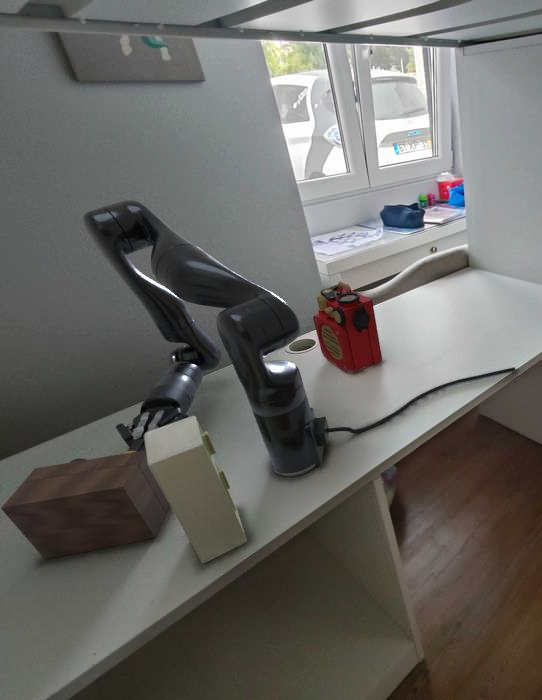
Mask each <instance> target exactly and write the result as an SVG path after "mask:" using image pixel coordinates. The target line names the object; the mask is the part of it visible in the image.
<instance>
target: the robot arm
mask: <svg viewBox="0 0 542 700" xmlns="http://www.w3.org/2000/svg"><path fill="white" fill-rule="evenodd" d="M82 223H83V226H84V228H85V231H86V232H87V234H88V236H89V238H90V240H91V241H92V243H93V244H94V246H95V247H96V248H97V249H98V250H99V252H100V253H101V254H102V256H103V257H104V259H105V260H106V261H107V262H108V263H109V265H110V266H111V267H112V268H113V270H114V271H115V272H116V274H117V275H118V276H119V277H120V279H121V280H122V281H123V283H124V284H125V285H126V286H127V288H128V289H129V290H130V291H131V292H132V293H133V295H134V296H135V297H136V299H138V301H139V302H140V303H141V305H142V306H143V307H144V309H145V310H146V312H147V313H148V315H149V317H150V318H151V320H152V322H153V323H154V324H155V326H156V328H157V330H158V331H159V333H160V335H161V336H162V337H163V339H164V340H165V341H166V342H168V343H171V344H173V343H175V344H184V345H180V346H177V347H175V348H173V349H172V350H171V351H170V352H169V354H168V361H167V362H168V363H167V367H166V371H165V373H164V374H163V376H162V377H161V379H159V380H158V381H157V383H156V384H155V385H154V386H153V388H152V389H151V390H150V392H149V393H148V395H147V396H146V398H145V399H144V401H143V402H142V403H141V406H140V410H139V411H140V412H139V413H138V415H136V416H135V417H134V418H132V422H130V423H127V424H124V423H118V424H116V426H115V429H116V430H117V432H118V434H119V436H120V437H121V439H122V440H123V441H124V442H125V444H126V445H127V446H128V449H127V451H136V452H138V451H144V450H145V452H146V447H145V440H144V435H145V433H147V432H149V431H152V430H155V429H157V428H160V427H163V426H166V425H169V424H172V423H174V422H177V421H180V420H183V419H185V418H188V417H189V415H188V411H189V410H190V408H191V405H192V404H193V402H194V399H195V397H196V394H197V392H198V390H199V388H200V386H201V384H202V382H203V380H204V372H209V371H213V370H215V369H217V368H218V367H220V366H221V364H222V361H223V355H222V350H221V349H220V347H219V346H218V344H217V343H216V342H215V341H214V340H213V339H212V338H211V337H210V336H209V335H207V333H205V331H204V330H203V329H202V328H201V327H200V326H199V325H198V324H197V323H196V321H195V318H193V316H192V313H191V312H190V310H189V308H188V307H187V305H186V303H185V302H187V303H190V304H194V305H199V306H202V307H203V306H205V307H210V308H218V309H222V310H221V311H220V312H218V314H217V316H216V322H215V323H216V329H217V332H218V336H219V338H220V341H221V342H222V345H223V347H224V349H225V351H226V353H227V355H228V358H229V360H230V362H231V364H232V366H233V369H234V371H235V375H236V376H237V378H238V380H239V382H240V384H241V386H242V388H243V390H244V392H245V395H246V398H247V400H248V403H249V406H250V409H251V411H252V414H253V417H254V420H255V422H256V424H257V427H258V430H259V433H260V435H261V437H262V441H263V443H264V446H265V448H266V451H267V454H268V457H269V460H270V463H271V466H272V468H273V471H274V473H276V474H278V475H280V476H283V477H296V476H300V475H304V474H306V473H308V472H310V471H311V470H313V469H314V468H316V467H321V466H322V464H323V457H324V446H328V441H329V433H336V432H348V433H351V434H361V433H364V432H367V431H369V430H371V429H374V428H377V427H378V426H380V425H382V424H384V423H386V422H387V421H389V420H391V419H393V418H394V417H396V416H398V415H399V414H401V413H403V411H405V410H406V409H407V408H408V407H410V406H411V405H412V404H414V403H416V402H417V401H419V400H420V399H422V398H425V397H426V396H428V395H430V394H432V393H434V392H436V391H439V390H441V389H444V388H447V387H450V386H453V385H456V384H460V383H464V382H469V381H474V380H479V379H483V378H487V377H492V376H496V375H500V374H505V373H510V372H514V371H516V367H510V368H506V369H500V370H495V371H492V372H491V371H490V372H486V373H483V374H478V375H473V376H468V377H464V378H459V379H456V380H452V381H448V382H446V383H444V384H440V385H438V386H435V387H433V388H430V389H429V390H426V391H425V392H422V393H420V394H418V395H417V396H415V397H413V398H411V400H409V401H408V402H407V403H405V404H403V406H401V407H400V408H398V409H397V410H395V411H394V412H392V413H390V414H388V415H387V416H385V417H384V418H381V419H380V420H378V421H375V422H374V423H371V424H370V425H367V426H365V427H361V428H356V429H355V428H352V427H350V426H339V427H338V426H337V427H329V424H328V419H327V416H326V415H325V416H319V417H317V415H316V411H315V409H314V407H311V406H310V403H309V399H308V396H307V393H306V388H305V385H304V381H303V377H302V374H301V371H300V369H299V367H298V365H296V364H295V363H293V362H292V361H288V360H284V359H283V360H282V359H278V360H277V359H276V360H275V359H274V360H266V361H264V358H266V357H268V356H269V355H271V354H273V353H275V352H277V351H280V350H281V349H283V348H285V347H288V346H289V345H290V344H291V343H293V342H294V341H296V340H297V339H298V337H299V335H300V333H301V323H300V320H299V318H298V315H297V314H296V313H295V311H294V309H292V307H291V306H290V305H289V304H288V303H287V302H286V301H285V300H284V299H283V298H281V297H280V296H278V295H277V294H275V293H274V292H272V291H270V290H268V289H266V288H265V287H262V286H260V285H259V284H256V283H254V282H253V281H251V280H248V279H246V278H245V277H244V276H242V275H240V274H238V273H236V272H235V271H234V270H232V269H230V268H229V267H227V266H226V265H224V264H222V263H221V262H220V261H218V260H217V259H216V258H215V257H213V256H212V255H211V254H209V253H208V252H206V251H205V250H203V249H202V248H200V247H199V246H197V245H196V244H194V243H192V242H191V241H189V240H188V239H187V238H185V237H184V236H182V235H180V234H179V233H178V232H176V230H174V229H173V228H171V227H170V226H169V225H168V224H167V223H166V222H165V221H163V220H162V218H160V217H159V216H158V215H157V214H156V213H154V212H153V210H151V209H150V207H149V208H148V207H147V206H146V205H145V204H143V203H141V202H139V201H137V200H135V199H132V200H131V199H128V200H123V201H119V202H115V203H112V204H108V205H105V206H102V207H97V208H95V209H94V208H93V209H92V210H88V211H86V212H85V213H84V214H83V215H82ZM150 247H152V249H151V253H150V269H151V272H152V275H153V277H154V278H155V280H154V279H153V278H150V277H149V276H147V275H146V274H144V273H143V272H142V271H140V270H139V269H138V268H137V267H136V266H135V265H134V264H133V263H132V261H131V260H130V259H129V257H128V255H131V254H133V253H136V252H139V251H143V250H144V249H147V248H150ZM184 301H185V302H184ZM135 429H136V430H135ZM134 430H135V431H136V432H135V431H134ZM134 432H135V433H134ZM133 433H134V434H133Z"/></svg>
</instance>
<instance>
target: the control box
mask: <svg viewBox="0 0 542 700" xmlns="http://www.w3.org/2000/svg"><path fill="white" fill-rule="evenodd" d="M124 453H125V452H124ZM170 508H171V506H170V504H169V503H168V501H167V499H166V497H165V495H164V494H163V492H162V490H161V488H160V486H159V485H158V483H157V481H156V479H155V478H154V476H153V474H152V472H151V470H150V469H149V466H148V463H147V455H146V452H145V450H144V451H138V452H131V453H125V454H123V453H119V454H113V455H108V456H107V455H106V456H100V457H96V458H95V457H94V458H89V459H87V458H74V459H71V460H70V461H69V462H66V463H59V464H58V463H57V464H53V465H47V466H40V467H35V468H34V469H33V470H32V471H31V472H30V473H29V475H28V476H27V477H26V478H25V479H24V480H23V481H22V483H21V484H20V485H19V486H18V487H17V488H16V490H15V491H13V493H12V495H10V497H9V498H8V499H7V500H6V501H5V503H4V504H3V505H2V506H1V507H0V509H1V510H2V512H3V513H4V514H5V515H6V517H8V519H9V520H10V521H11V522H12V523H13V524H14V525H15V527H16V528H17V529H18V530H19V531H20V533H21V534H22V535H23V536H24V537H25V538H26V540H27V541H28V542H29V543H30V544H31V545H32V546H33V548H34V549H35V550H36V551H37V552H38V553H39V555H40V556H41V557H42V558H43V559H44V560H51V559H55V558H56V559H57V558H61V557H67V556H70V555H76V554H82V553H86V552H87V553H88V552H92V551H97V550H103V549H107V548H108V549H109V548H113V547H118V546H124V545H128V544H129V545H130V544H133V543H139V542H143V541H148V540H154V539H156V538H157V536H158V534H159V532H160V529H161V527H162V525H163V523H164V520H165V518H166V516H167V514H168V512H169V509H170Z"/></svg>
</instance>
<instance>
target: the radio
mask: <svg viewBox="0 0 542 700" xmlns="http://www.w3.org/2000/svg"><path fill="white" fill-rule="evenodd" d="M316 302H317V307H318V313H317V314H314V315H313V317H312V319H313V320H312V321H313V324H314V327H315V332H316V335H317V336H316V337H317V340H318V344H319V348H320V350H321V353H322V355H323V358H325V359H327V360H328V361H330V362H331V363H332V364H334V365H335V366H336V367H338V368H340V369H341V370H343V371H344V372H349V371H351V370H352V371H353V372H358V371H360V370H362V369H364V368H365V369H366V368H367V367H370V366H371V365H377V364H379V363H382V362H383V355H382V350H381V343H380V338H379V332H378V327H377V320H376V315H375V308H374V302H373V299H371V298H369V297H367V296H364V295H362V293H361V294H360V293H359V292H356V291H354V290H352V288H351V286H350V285H349V284H348V283H347V282H343V281H341V280H340V281H337V284H334V285H332V286H329V287H328V288H322V290H320V291H319V293H318V295H317V296H316Z"/></svg>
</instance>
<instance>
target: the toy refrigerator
mask: <svg viewBox="0 0 542 700" xmlns="http://www.w3.org/2000/svg"><path fill="white" fill-rule="evenodd" d="M144 440H145V447H146V455H147V463H148V466H149V469H150V470H151V472H152V474H153V476H154V478H155V479H156V481H157V483H158V485H159V486H160V488H161V490H162V492H163V494H164V495H165V497H166V499H167V501H168V503H169V504H170V508H171V510H172V511H173V513H174V515H175V517H176V519H177V520H178V523H179V525H180V526H181V528H182V529H183V532H184V533H185V535H186V537H187V539H188V541H189V542H190V543H191V544H190V545H191V546H192V548H193V550H194V551H195V553H196V555H197V556H198V558H199V560H200V562H201V563H202V564H206V563H208V562H210V561H212V560H214V559H216V558H218V557H220V556H222V555H224V554H226V553H228V552H230V551H232V550H234V549H236V548H238V547H240V546H242V545H243V544H246V543H247V542H248V539H247V535H246V533H245V529H244V526H243V523H242V520H241V518H240V517H241V516H240V514H239V511H238V509H237V506H236V504H235V501H234V499H233V498H232V496H231V493H230V491H229V489H231V486H230V484H229V481H228V479H227V477H226V474H225V471H224V469H223V468H219V465H218V464H217V462H216V460H215V457H214V455H215V454H216V453H217V450H216V448H215V446H214V443H213V442H212V439H211V437H210V435H209V432H208V431H204V432H203V430H202V428H201V425H200V424H199V421H198V419H197V417H196V416H195V415H191V416H188V418H185V419H183V420H180V421H177V422H174V423H172V424H169V425H166V426H163V427H160V428H157V429H155V430H152V431H149V432H147V433H145V435H144Z"/></svg>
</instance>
